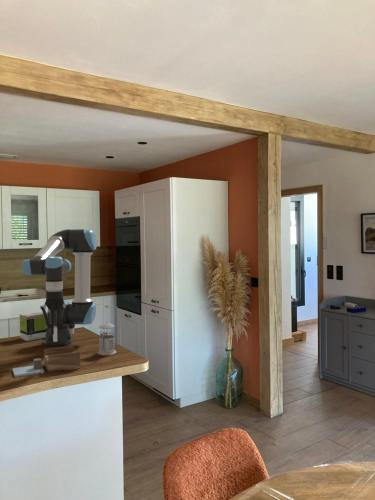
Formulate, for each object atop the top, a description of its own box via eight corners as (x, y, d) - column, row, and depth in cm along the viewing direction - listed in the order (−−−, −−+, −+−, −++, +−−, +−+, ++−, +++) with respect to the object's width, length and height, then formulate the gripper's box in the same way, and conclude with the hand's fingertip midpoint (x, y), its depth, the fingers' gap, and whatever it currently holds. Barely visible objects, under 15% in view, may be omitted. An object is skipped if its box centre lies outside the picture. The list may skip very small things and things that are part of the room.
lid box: (44, 365, 194) (44, 349, 194) (74, 361, 200) (74, 345, 200) (48, 372, 183) (48, 355, 183) (80, 368, 190) (80, 351, 190)
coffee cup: (76, 335, 252) (76, 311, 252) (59, 336, 250) (59, 312, 249) (75, 332, 262) (75, 308, 262) (59, 333, 259) (59, 309, 259)
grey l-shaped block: (12, 371, 186) (12, 359, 186) (40, 367, 192) (40, 356, 192) (14, 378, 177) (14, 365, 177) (44, 374, 183) (44, 361, 183)
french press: (119, 350, 219) (119, 303, 219) (109, 356, 208) (109, 307, 207) (102, 349, 222) (102, 303, 221) (92, 355, 211) (92, 306, 210)
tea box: (43, 334, 256) (43, 310, 255) (51, 337, 249) (51, 312, 248) (19, 338, 245) (19, 313, 245) (26, 341, 238) (26, 316, 238)
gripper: (40, 292, 183) (41, 344, 184) (70, 290, 189) (71, 341, 190) (38, 290, 190) (39, 340, 191) (67, 288, 196) (67, 337, 197)
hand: (55, 340), depth 191 cm, fingers closed
